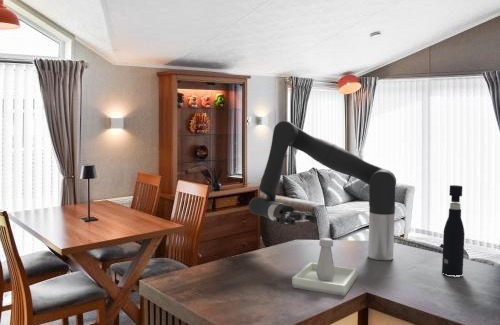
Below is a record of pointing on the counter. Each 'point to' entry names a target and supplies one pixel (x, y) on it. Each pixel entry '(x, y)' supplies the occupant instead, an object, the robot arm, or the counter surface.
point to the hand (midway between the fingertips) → (305, 220)
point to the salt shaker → (325, 260)
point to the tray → (336, 286)
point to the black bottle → (453, 236)
